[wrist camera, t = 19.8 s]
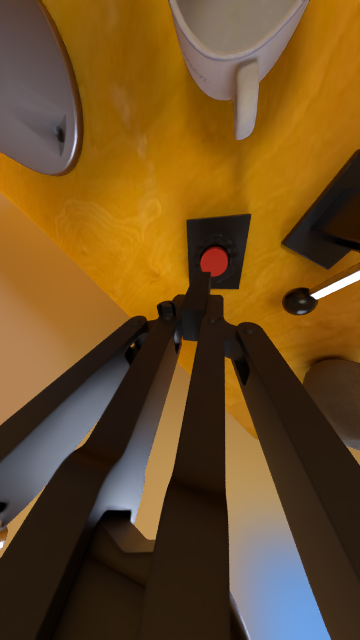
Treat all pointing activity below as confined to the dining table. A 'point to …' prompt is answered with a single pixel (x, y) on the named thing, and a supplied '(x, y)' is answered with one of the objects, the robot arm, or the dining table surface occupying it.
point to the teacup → (234, 47)
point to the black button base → (222, 234)
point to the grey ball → (337, 396)
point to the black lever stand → (331, 220)
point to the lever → (317, 292)
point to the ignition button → (214, 261)
